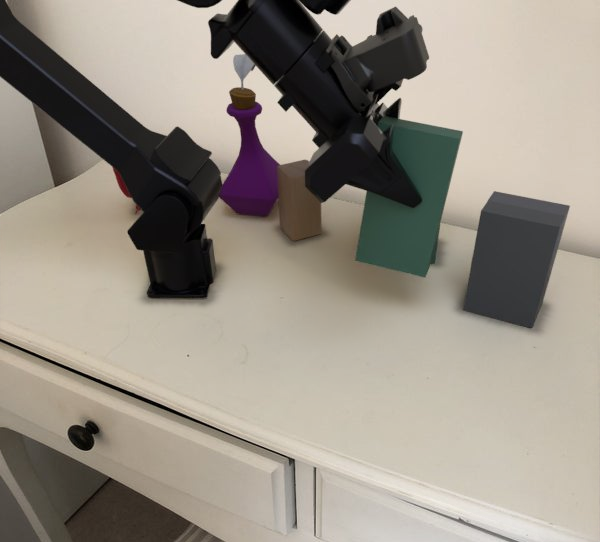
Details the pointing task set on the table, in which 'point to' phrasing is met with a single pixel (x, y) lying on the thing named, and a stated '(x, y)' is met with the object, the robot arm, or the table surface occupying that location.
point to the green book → (403, 219)
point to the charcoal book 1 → (511, 262)
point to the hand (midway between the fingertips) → (419, 197)
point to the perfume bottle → (249, 154)
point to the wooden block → (297, 202)
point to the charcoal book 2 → (534, 205)
